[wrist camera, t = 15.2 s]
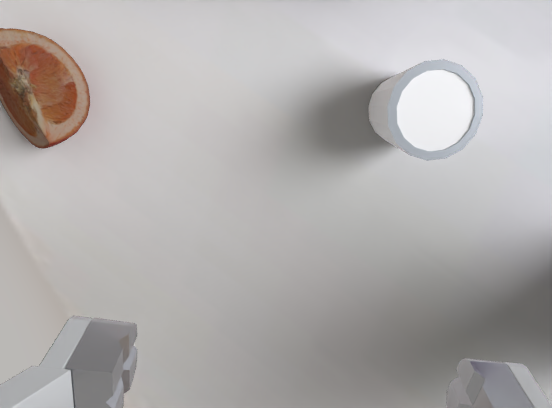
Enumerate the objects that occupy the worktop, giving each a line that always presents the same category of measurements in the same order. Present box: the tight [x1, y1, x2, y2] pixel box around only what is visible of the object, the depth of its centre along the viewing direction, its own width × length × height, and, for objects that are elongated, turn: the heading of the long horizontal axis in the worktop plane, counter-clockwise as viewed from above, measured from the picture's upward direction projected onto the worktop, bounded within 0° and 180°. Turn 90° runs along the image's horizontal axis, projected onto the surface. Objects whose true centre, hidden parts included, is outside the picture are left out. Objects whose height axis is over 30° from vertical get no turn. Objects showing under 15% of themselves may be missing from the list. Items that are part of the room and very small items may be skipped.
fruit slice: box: [0, 28, 90, 148], centre depth 33 cm, size 8×7×5 cm
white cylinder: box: [368, 59, 483, 160], centre depth 34 cm, size 7×7×7 cm
